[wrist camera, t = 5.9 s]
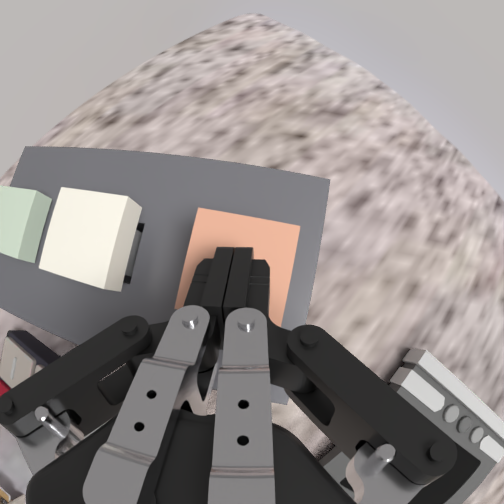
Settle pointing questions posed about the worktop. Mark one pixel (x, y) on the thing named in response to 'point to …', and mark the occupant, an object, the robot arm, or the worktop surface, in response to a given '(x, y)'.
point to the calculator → (23, 359)
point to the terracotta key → (244, 235)
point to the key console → (157, 234)
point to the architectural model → (16, 503)
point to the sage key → (22, 221)
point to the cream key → (92, 238)
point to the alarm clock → (449, 421)
